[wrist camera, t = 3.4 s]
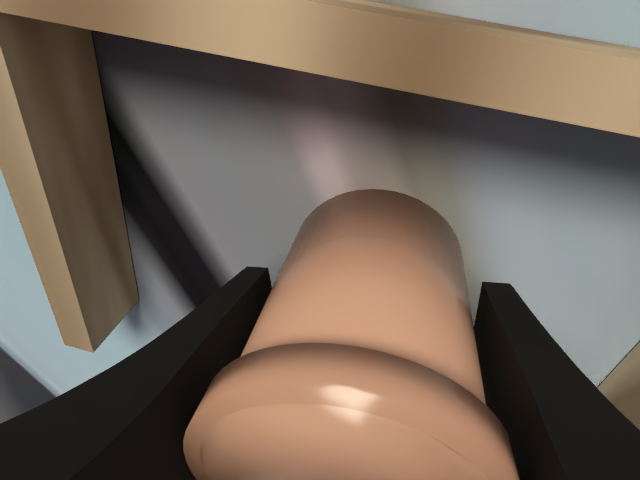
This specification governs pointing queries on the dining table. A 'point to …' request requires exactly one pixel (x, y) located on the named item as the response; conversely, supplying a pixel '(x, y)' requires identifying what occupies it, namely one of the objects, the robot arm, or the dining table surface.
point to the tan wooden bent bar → (273, 49)
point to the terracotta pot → (357, 360)
